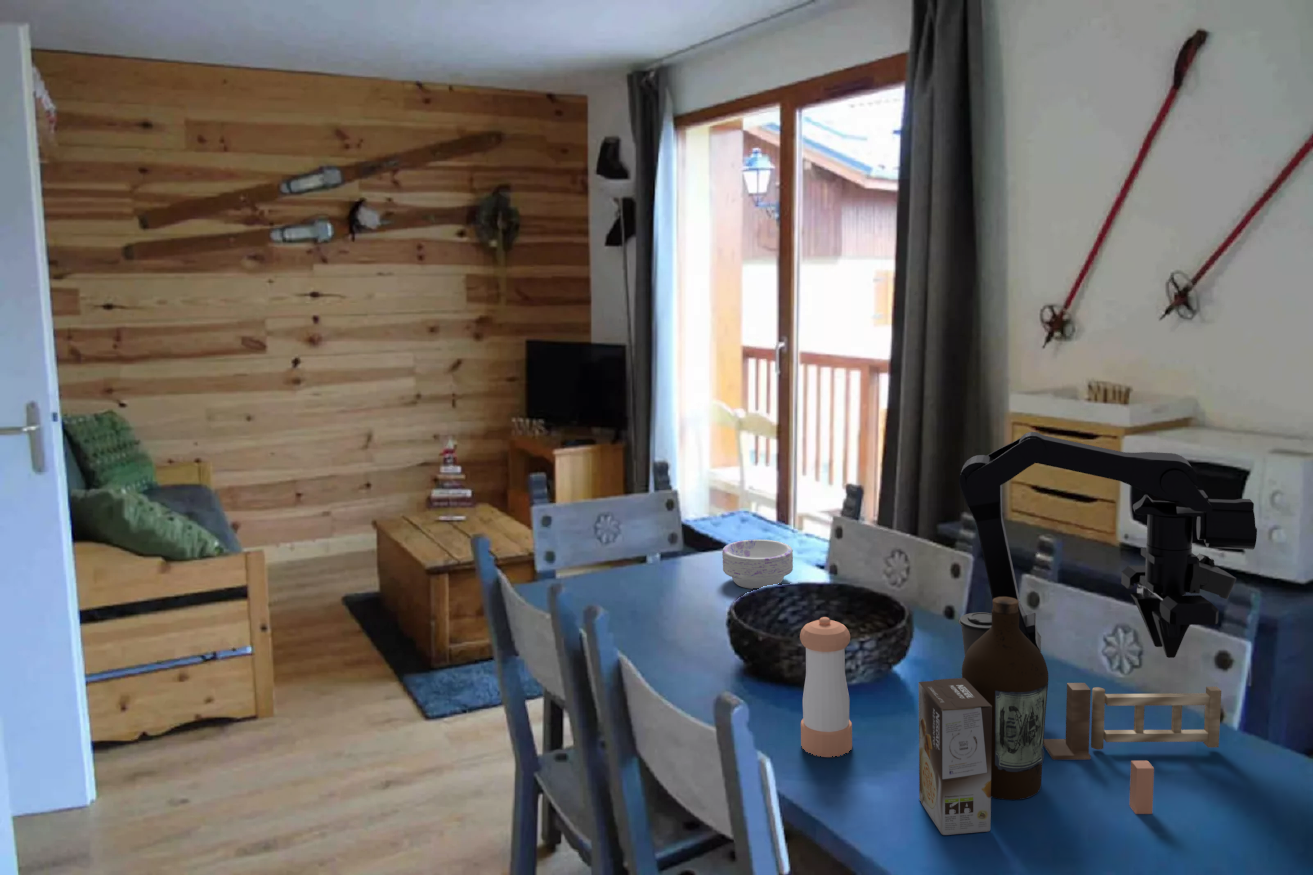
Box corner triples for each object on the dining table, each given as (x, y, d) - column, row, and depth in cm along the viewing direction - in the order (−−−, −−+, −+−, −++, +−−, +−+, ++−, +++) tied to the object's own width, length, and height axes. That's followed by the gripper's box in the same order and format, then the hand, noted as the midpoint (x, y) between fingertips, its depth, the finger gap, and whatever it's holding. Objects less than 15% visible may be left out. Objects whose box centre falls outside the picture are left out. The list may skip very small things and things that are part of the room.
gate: (1093, 749, 143) (1094, 692, 142) (1089, 744, 145) (1090, 687, 144) (1218, 749, 142) (1221, 691, 141) (1213, 743, 144) (1216, 686, 142)
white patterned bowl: (783, 596, 217) (783, 559, 216) (714, 591, 222) (713, 555, 221) (800, 575, 231) (799, 540, 230) (734, 571, 236) (733, 537, 235)
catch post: (1135, 814, 128) (1137, 768, 127) (1129, 805, 130) (1131, 760, 129) (1152, 814, 128) (1154, 768, 127) (1145, 805, 130) (1147, 760, 129)
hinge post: (1052, 759, 142) (1054, 694, 141) (1042, 743, 147) (1043, 679, 146) (1091, 759, 142) (1093, 693, 140) (1080, 742, 147) (1081, 679, 145)
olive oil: (946, 770, 141) (947, 592, 137) (1016, 759, 143) (1019, 584, 139) (988, 808, 130) (990, 617, 126) (1063, 796, 133) (1067, 608, 129)
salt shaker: (855, 737, 151) (854, 611, 148) (848, 760, 145) (846, 628, 142) (806, 732, 154) (804, 607, 151) (796, 754, 147) (793, 624, 144)
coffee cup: (955, 680, 170) (955, 621, 169) (960, 662, 178) (960, 606, 176) (1007, 685, 167) (1008, 626, 166) (1010, 667, 175) (1011, 610, 173)
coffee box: (993, 832, 125) (994, 706, 123) (941, 836, 125) (941, 710, 122) (964, 794, 134) (965, 676, 132) (916, 798, 134) (916, 680, 131)
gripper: (1262, 563, 135) (1256, 677, 138) (1199, 527, 153) (1194, 628, 156) (1173, 564, 136) (1169, 677, 138) (1121, 528, 154) (1118, 629, 157)
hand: (1164, 651), depth 147 cm, fingers open, 4 cm apart
